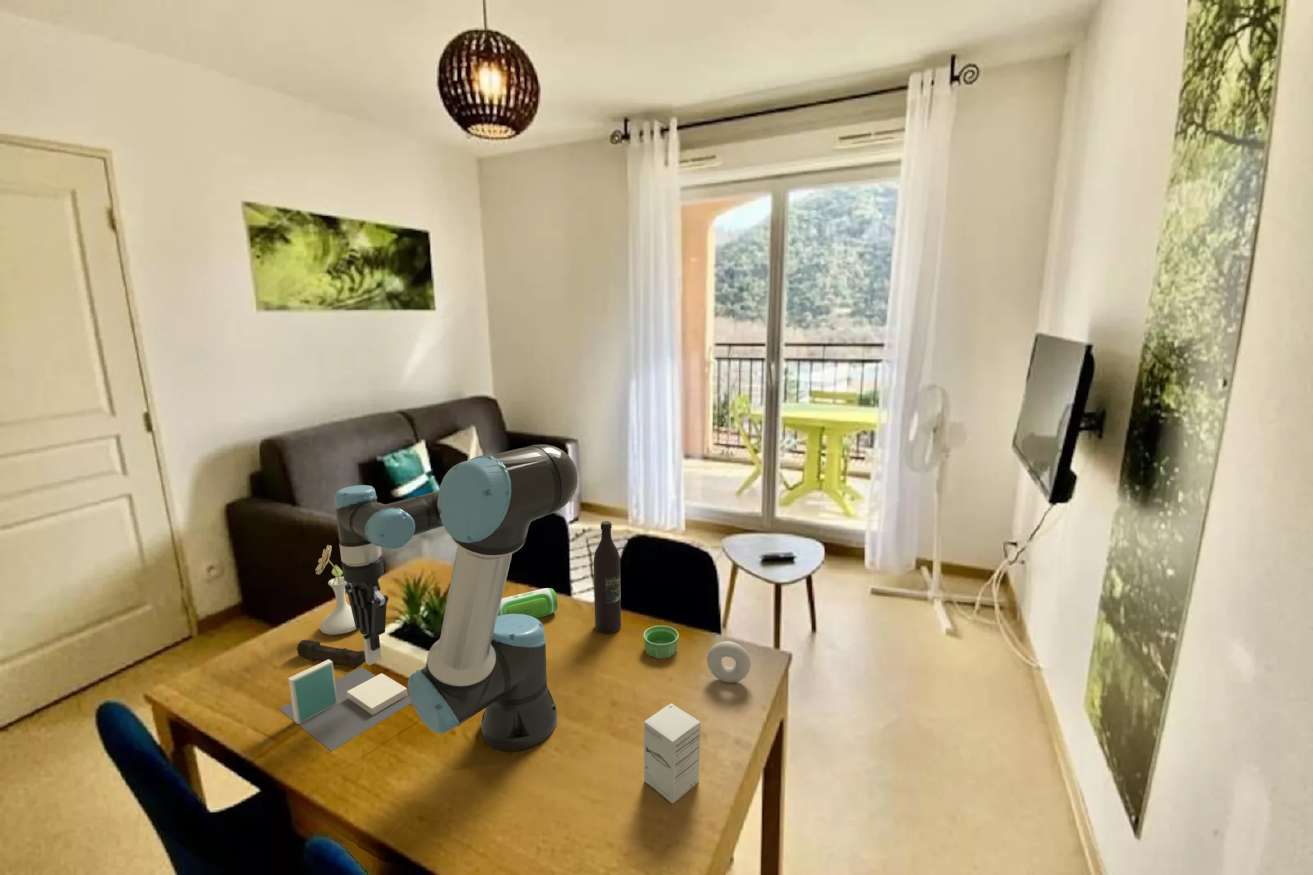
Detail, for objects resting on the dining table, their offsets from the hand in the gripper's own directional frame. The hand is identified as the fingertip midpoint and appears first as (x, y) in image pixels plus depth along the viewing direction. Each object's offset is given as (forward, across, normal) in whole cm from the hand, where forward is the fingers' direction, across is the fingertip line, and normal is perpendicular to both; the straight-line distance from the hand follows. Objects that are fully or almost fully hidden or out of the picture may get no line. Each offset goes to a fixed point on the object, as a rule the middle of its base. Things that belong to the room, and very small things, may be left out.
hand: (373, 661), depth 123 cm
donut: (+10, -61, -49) cm, 79 cm away
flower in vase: (+10, +36, -11) cm, 39 cm away
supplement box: (+10, -66, -17) cm, 69 cm away
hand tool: (+10, +24, -1) cm, 26 cm away
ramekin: (+10, -41, -51) cm, 66 cm away
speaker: (+10, -1, -42) cm, 43 cm away
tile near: (+9, +6, +10) cm, 15 cm away
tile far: (+8, +5, 0) cm, 9 cm away
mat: (+9, +3, +5) cm, 11 cm away
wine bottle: (+10, -23, -52) cm, 58 cm away
